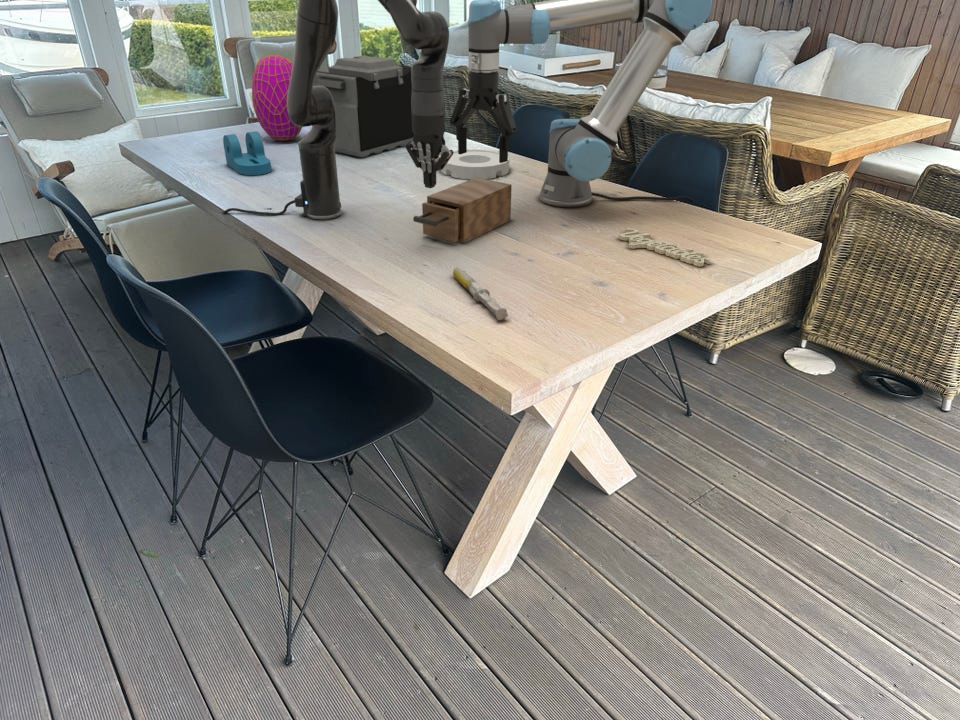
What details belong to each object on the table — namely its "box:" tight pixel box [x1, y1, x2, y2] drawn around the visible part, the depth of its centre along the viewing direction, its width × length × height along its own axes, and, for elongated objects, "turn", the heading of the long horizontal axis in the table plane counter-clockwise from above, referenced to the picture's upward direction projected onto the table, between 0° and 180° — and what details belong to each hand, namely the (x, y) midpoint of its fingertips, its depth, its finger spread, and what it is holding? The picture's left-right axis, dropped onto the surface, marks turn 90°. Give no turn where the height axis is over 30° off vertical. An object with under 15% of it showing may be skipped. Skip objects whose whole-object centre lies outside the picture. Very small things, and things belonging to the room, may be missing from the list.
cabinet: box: [426, 177, 513, 244], centre depth 180 cm, size 22×12×10 cm, turn 145°
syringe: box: [452, 266, 509, 321], centre depth 145 cm, size 25×4×3 cm, turn 21°
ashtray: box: [440, 148, 511, 180], centre depth 230 cm, size 23×23×4 cm
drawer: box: [412, 201, 461, 243], centre depth 175 cm, size 26×10×8 cm, turn 145°
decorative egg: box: [251, 54, 303, 142], centre depth 257 cm, size 19×19×30 cm
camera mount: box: [222, 131, 272, 176], centre depth 226 cm, size 18×10×10 cm, turn 35°
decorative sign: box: [618, 227, 711, 267], centre depth 169 cm, size 26×1×10 cm
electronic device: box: [313, 55, 414, 159], centre depth 250 cm, size 37×22×30 cm, turn 144°
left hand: (430, 187), depth 163 cm, fingers closed
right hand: (482, 157), depth 180 cm, fingers open, 13 cm apart
